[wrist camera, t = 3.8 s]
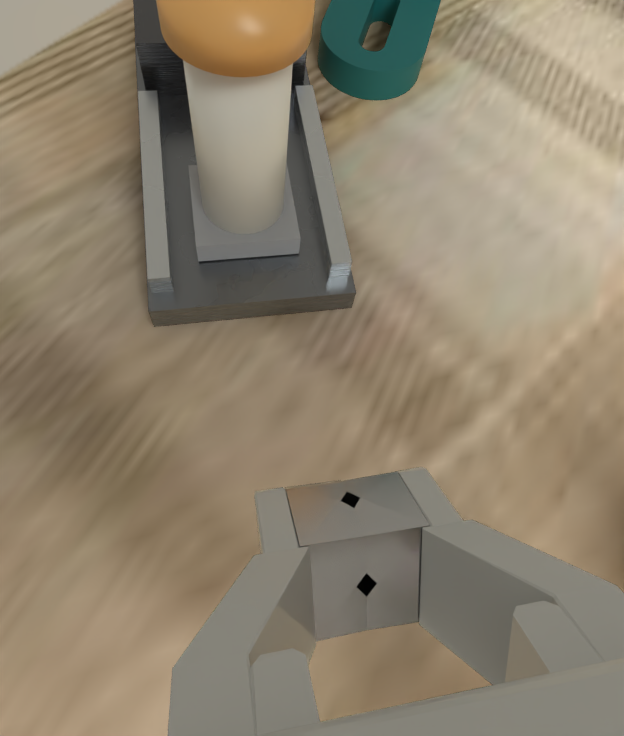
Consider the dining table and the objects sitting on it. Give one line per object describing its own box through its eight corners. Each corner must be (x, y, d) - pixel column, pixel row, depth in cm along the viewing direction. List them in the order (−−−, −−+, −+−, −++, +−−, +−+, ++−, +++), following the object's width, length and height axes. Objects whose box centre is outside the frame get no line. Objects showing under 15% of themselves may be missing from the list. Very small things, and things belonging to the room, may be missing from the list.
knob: (301, 254, 28) (329, 28, 17) (196, 263, 27) (156, 31, 16) (286, 175, 30) (303, -74, 19) (188, 180, 29) (148, -75, 18)
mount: (351, 307, 28) (368, 254, 24) (154, 326, 27) (134, 273, 23) (297, 55, 36) (302, -20, 31) (139, 59, 34) (123, -19, 30)
